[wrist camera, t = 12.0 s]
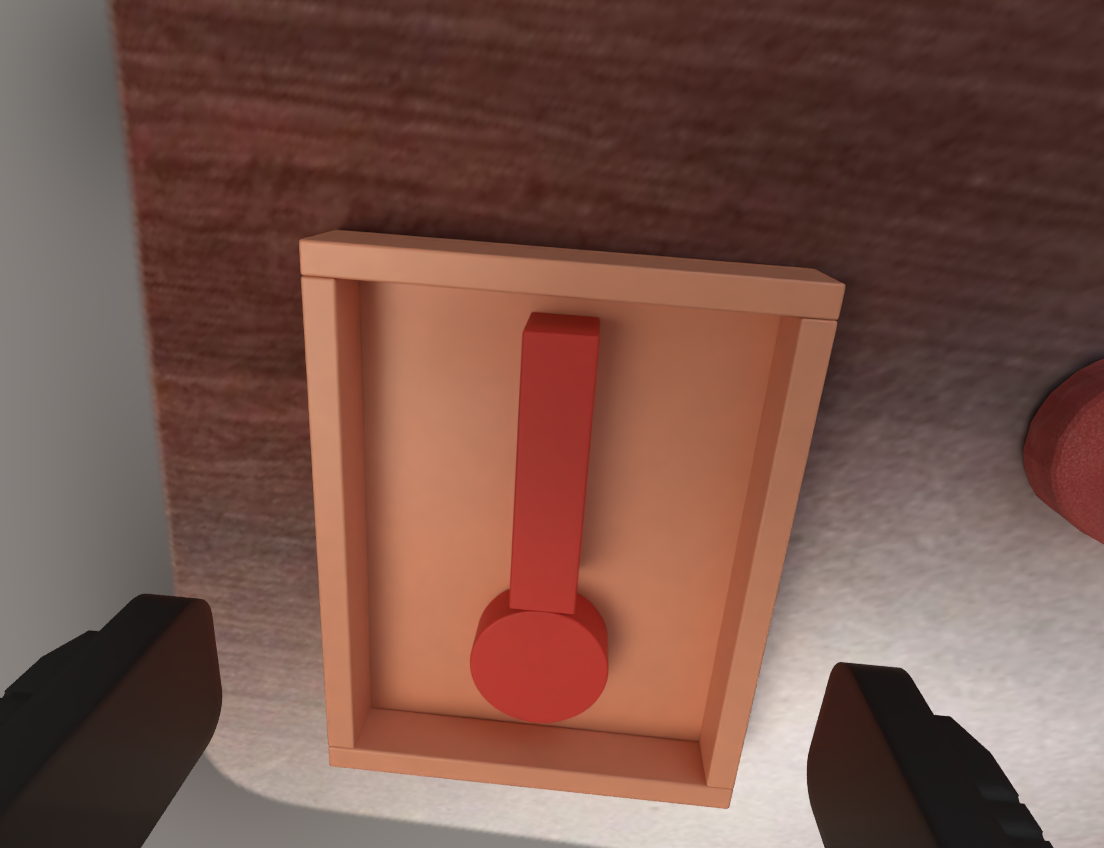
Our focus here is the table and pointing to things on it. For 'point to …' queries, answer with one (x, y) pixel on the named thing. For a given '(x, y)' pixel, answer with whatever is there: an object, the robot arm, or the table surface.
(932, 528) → the table surface
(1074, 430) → the popsicle
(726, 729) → the clay tray
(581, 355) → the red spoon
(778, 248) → the table surface
